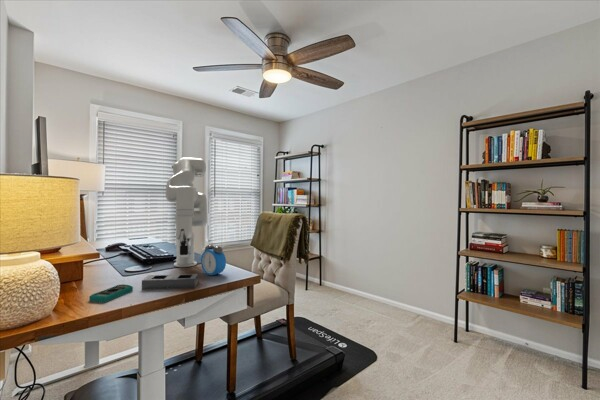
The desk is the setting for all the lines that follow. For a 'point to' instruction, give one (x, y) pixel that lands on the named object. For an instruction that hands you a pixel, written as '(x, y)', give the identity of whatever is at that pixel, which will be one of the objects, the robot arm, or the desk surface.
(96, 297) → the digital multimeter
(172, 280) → the rail
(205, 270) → the alarm clock
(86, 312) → the desk surface
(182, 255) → the white green box
